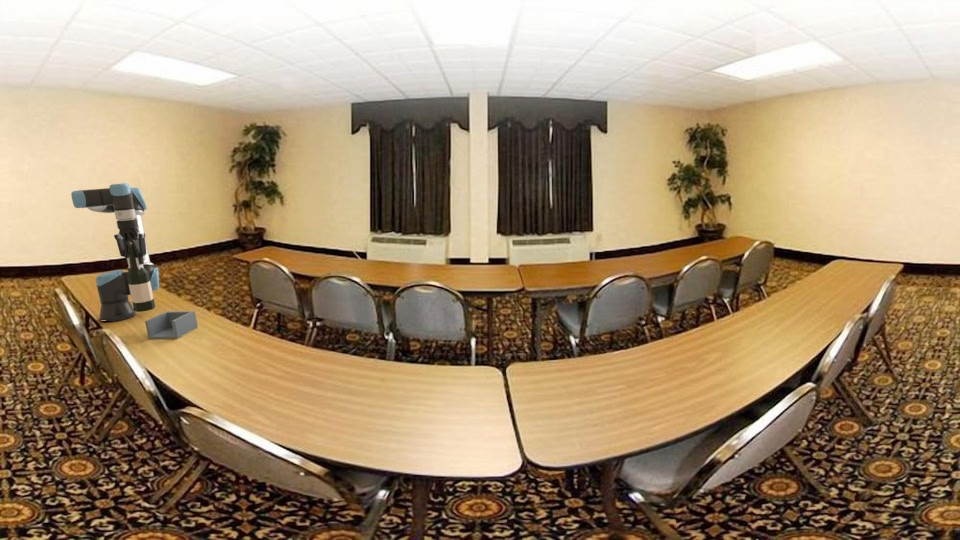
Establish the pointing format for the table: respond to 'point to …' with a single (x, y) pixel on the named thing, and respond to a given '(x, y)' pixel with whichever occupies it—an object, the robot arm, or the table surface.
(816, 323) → the table surface
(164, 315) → the bottle stand
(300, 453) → the table surface
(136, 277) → the wine bottle
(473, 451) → the table surface
